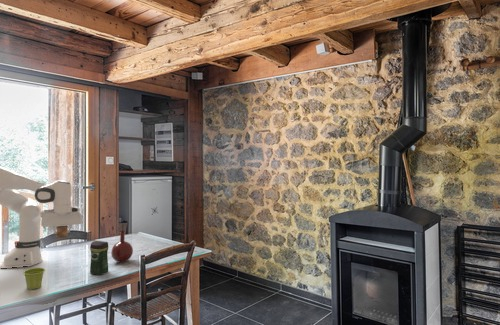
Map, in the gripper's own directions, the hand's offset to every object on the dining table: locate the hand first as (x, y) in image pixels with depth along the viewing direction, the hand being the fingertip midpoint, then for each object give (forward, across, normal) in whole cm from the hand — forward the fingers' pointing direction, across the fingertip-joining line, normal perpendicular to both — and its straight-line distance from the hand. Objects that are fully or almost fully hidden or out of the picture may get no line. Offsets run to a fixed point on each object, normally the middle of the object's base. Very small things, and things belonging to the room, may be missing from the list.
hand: (61, 233), depth 188 cm
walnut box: (+2, 0, 0) cm, 2 cm away
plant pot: (+25, -13, -12) cm, 30 cm away
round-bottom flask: (+24, +35, +8) cm, 43 cm away
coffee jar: (+24, +19, -6) cm, 32 cm away
